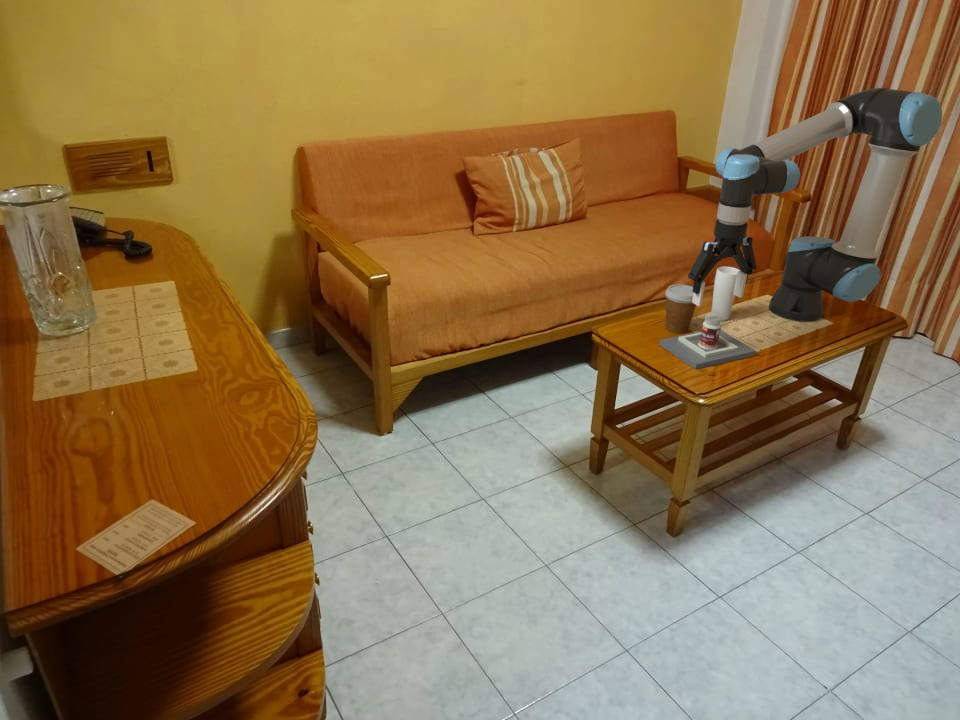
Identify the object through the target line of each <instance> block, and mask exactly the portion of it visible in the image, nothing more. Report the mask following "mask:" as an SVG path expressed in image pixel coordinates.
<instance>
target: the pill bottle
mask: <svg viewBox="0 0 960 720" xmlns="http://www.w3.org/2000/svg"><path fill="white" fill-rule="evenodd" d="M721 322H722V321H721V317H720V316H719V315H716V314H711V313H708V314H706V315H705V318H704V321H703V323H702V326H701V327H702V328H701V330H700V332H701V336H700V341H699V344H700V345H701V346H702V347H704V348H709V349H712V348H715V347H717V344H718V340H719V335H720V330H721V329H722V323H721Z"/></svg>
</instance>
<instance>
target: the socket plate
mask: <svg viewBox="0 0 960 720" xmlns="http://www.w3.org/2000/svg"><path fill="white" fill-rule="evenodd" d="M700 336H701V331H698V332H692V333H688V334H683V335H682V334H681V335H677V336H672V337H668V338H663V339H660V340H659V346H660V345H661V347H662V348H663V347H664V348H663V349H665V350H666V351H668V352H669V353H671V354H672V355H674V356H676V358H678V359H679V360H681V361H683V362H684V363H685V364H686V365H688V366H689V367H691V368H693V369H694V370H698V369H702V368H706V367H707V368H708V367H712V366H716V365H721V364H725V363H729V362H734V361H738V360H742V359H746V358H750V357H751V358H752V357H755V356H756V354H757V350H756V349H754V348H752V347H750V346H749V345H747V344H745V342H744V343H743V342H742V341H740V340H739V339H737V338H736V337H734V336H732V335H730V334H729V333H726V332H725V331H724V330H720V335H719V340H718V344H717V347H715V348H712V349H709V348H704V347H702V346H701V345H700V344H699V341H700Z"/></svg>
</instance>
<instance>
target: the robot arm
mask: <svg viewBox="0 0 960 720" xmlns="http://www.w3.org/2000/svg"><path fill="white" fill-rule="evenodd" d="M942 120H943V109H942V107H941V104H940V101H939V100H938V99H937V98H936V97H934V96H933V95H930V94H926V93H922V92H919V91H915V92H914V91H909V90H908V91H907V90H901V89H893V88H887V87H876V88H875V87H874V88H869V89H866V90H862V91H859V92H856V93H853V94H851V95H848V96H846V97H842V98H841V99H837V100H836V101H834V102H831V103H830V104H829V105H828V106H827V107H826V108H825V110H823V111H822V112H819V113H817V114H814V115H813V116H811V117H808V118H806V119H804V120H802V121H800V122H797V123H795V124H794V125H791V126H789V127H788V128H787V127H786V128H785V129H783V130H780V131H778V132H777V133H774V134H772V135H770V136H768V137H765V138H763V139H762V140H759V141H756V142H755V143H752V144H751V145H748V146H746V147H743V148H742V149H738V148H726V149H724V150H722V152H721V153H719V155H718V157H717V159H716V161H715V170H716V173H717V174H718V175H719V176H720V177H722V182H721V189H720V196H719V201H718V207H717V213H716V218H717V220H715V225H714V230H713V235H714V240H713V242H709V241H707V240H705V241H704V242H702V243H703V245H702V247H701V251H700V253H699V254H698V256H697V258H696V259H695V262H694V263H693V265H692V267H691V269H690V271H689V273H688V274H687V278H688V279H690V280H692V281H693V284H692V287H693V290H692V291H693V292H694V294H693V300H692V303H694V304H696V306H697V307H701V306H702V304H703V297H704V292H705V288H706V287H705V286H706V282H705V281H704V280H705V279H706V278H707V276H709V274H710V272H712V270H713V269H714V268H715V266H716V265H717V264H718V263H719V262H720V261H722V260H724V259H727V258H733V259H734V261H735V262H736V264H737V267H738V269H739V270H740V271H738V272H737V277H736V282H735V288H734V293H733V294H734V295H736V296H735V297H737V298H740V299H741V298H743V297H744V293H745V287H746V284H747V283H748V281H749V280H748V278H749V275H753V273H754V271H756V270H757V267H758V265H757V262H756V258H755V254H754V249H753V237H751V236H749V235H747V229H748V226H749V225H748V221H749V220H750V216H751V215H750V214H751V209H752V204H753V200H754V196H760V195H761V196H762V195H770V194H782V193H787V192H790V191H793V189H794V190H795V188H796V187H797V186H798V184H799V181H800V177H801V171H800V168H799V166H798V164H797V163H796V162H795V161H793V160H790V159H792V158H795V157H797V156H798V155H800V154H803V153H806V152H807V151H809V150H811V149H814V148H816V147H818V146H820V145H822V144H824V143H826V142H829V141H831V140H833V139H835V138H837V139H843V138H846V137H849V136H850V135H858V134H859V135H868V136H870V138H869V140H868V144H867V145H868V146H869V148H870V150H871V154H870V157H869V159H868V162H867V165H866V168H865V170H864V173H863V176H862V179H861V181H860V184H859V187H858V189H857V193H856V196H855V198H854V201H853V203H852V207H851V210H850V212H849V215H848V217H847V220H846V223H845V225H844V228H843V231H842V234H841V236H840V240H839V241H837V242H836V241H835V240H834V239H832V238H829V237H823V236H800V237H799V236H798V237H796V238H794V239H792V240H791V242H790V244H789V245H790V246H789V248H788V250H787V255H786V259H785V264H784V269H783V272H782V278H781V279H780V280H781V281H780V284H779V285H778V287H777V289H776V290H775V292H774V293H773V295H772V297H771V298H770V301H769V305H768V309H769V311H771V312H772V313H773V314H774V315H777V316H778V317H781V318H785V319H787V320H792V321H798V322H814V321H818V320H820V319H821V318H822V316H823V314H824V313H823V312H824V310H825V309H824V304H823V292H824V293H827V294H829V295H831V296H833V297H834V298H836V299H839V300H843V301H845V302H848V303H849V302H850V303H852V302H858V301H860V300H862V299H865V297H867V296H869V295H870V293H872V292H873V290H874V289H875V288H876V287H877V285H878V284H879V282H880V278H881V269H880V268H879V267H878V265H876V261H877V259H878V253H877V252H876V250H875V247H876V244H877V241H878V239H879V237H880V234H881V230H882V229H883V226H884V223H885V221H886V218H887V216H888V213H889V210H890V208H891V205H892V203H893V200H894V198H895V194H896V192H897V190H898V187H899V184H900V183H901V182H900V181H901V180H902V176H903V175H904V172H905V170H906V167H907V164H908V161H909V159H910V158H911V157H913V156H915V155H917V154H918V153H919V152H920V149H921V147H922V146H925V145H927V144H929V143H931V141H932V140H933V139H932V138H935V137H936V136H937V134H938V132H939V131H940V127H941V124H942ZM741 249H742V250H741Z"/></svg>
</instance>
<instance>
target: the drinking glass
mask: <svg viewBox="0 0 960 720" xmlns="http://www.w3.org/2000/svg"><path fill="white" fill-rule="evenodd" d="M738 271H741V269H739V268H736V267H733V266H719V267H717V269H716V272H715V277H714V282H713V294H712V301H711V302H712V303H711V311H710V314H716V315H719V316H720V317H721V322H723V321H727V320H729V319H730V316H731V311H732V308H733V305H734V301H735V298H736V297H737V296H736V295H734V294H733V293H734V288H735V282H736V277H737V272H738Z"/></svg>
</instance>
